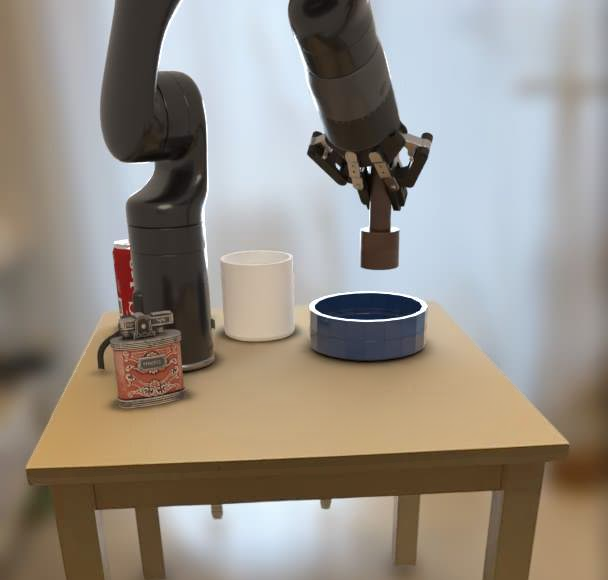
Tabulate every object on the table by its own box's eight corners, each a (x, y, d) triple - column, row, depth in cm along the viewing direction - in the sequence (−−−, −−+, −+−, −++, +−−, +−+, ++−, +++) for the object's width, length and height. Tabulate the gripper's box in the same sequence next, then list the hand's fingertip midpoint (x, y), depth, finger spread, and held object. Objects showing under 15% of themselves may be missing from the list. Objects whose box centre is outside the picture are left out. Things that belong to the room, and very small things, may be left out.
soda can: (160, 321, 132) (152, 237, 127) (152, 331, 128) (143, 244, 122) (126, 321, 133) (117, 237, 127) (117, 330, 128) (106, 244, 123)
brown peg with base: (367, 271, 98) (370, 133, 92) (354, 263, 102) (355, 130, 95) (404, 268, 100) (409, 131, 93) (389, 260, 103) (393, 128, 97)
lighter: (123, 410, 100) (112, 322, 95) (114, 401, 102) (103, 314, 97) (190, 398, 103) (183, 311, 98) (180, 389, 105) (172, 305, 101)
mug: (308, 333, 125) (307, 258, 120) (246, 346, 121) (242, 268, 116) (263, 315, 134) (260, 244, 130) (204, 325, 130) (198, 253, 125)
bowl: (313, 366, 112) (313, 323, 110) (306, 332, 126) (306, 293, 123) (434, 362, 113) (436, 319, 110) (415, 329, 126) (416, 290, 124)
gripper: (431, 52, 82) (454, 177, 98) (292, 54, 87) (335, 173, 103) (413, 119, 81) (439, 236, 96) (273, 118, 85) (319, 229, 101)
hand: (385, 203), depth 99 cm, fingers closed on brown peg with base, 2 cm apart
